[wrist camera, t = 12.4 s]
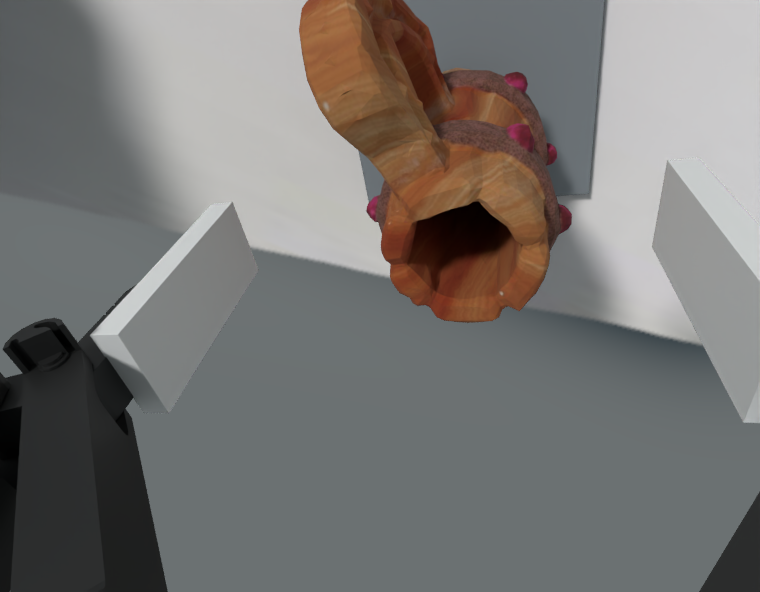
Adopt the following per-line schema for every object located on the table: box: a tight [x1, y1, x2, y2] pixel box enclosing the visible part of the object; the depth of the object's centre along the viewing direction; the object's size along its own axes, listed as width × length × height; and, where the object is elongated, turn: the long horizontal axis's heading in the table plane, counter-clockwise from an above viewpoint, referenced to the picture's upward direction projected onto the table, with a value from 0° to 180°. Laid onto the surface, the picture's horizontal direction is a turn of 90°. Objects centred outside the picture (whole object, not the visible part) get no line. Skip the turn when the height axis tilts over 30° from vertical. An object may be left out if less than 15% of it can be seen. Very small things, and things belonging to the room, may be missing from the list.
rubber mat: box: [359, 0, 604, 202], centre depth 28 cm, size 14×14×1 cm
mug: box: [299, 0, 572, 323], centre depth 22 cm, size 15×8×15 cm, turn 33°
